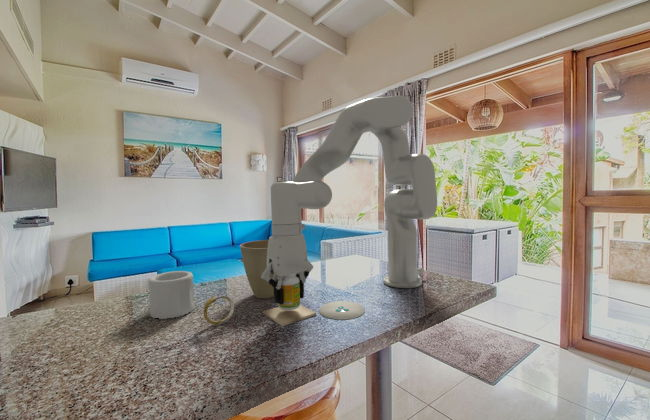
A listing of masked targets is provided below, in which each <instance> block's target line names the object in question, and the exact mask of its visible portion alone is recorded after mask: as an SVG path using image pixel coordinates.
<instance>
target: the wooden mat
mask: <svg viewBox="0 0 650 420" xmlns="http://www.w3.org/2000/svg"><path fill="white" fill-rule="evenodd" d="M262 314H263V315H264V316H266V317H267V318H269V319H271V321H274V322H275V323H276V324H278V325H280V326H281V327H285V326H287V325H290V324H294V323H296V322H299V321H302V320H305V319H308V318H311V317H314V316H317V312H316V311H314V310H313V309H310V308H308V307H306V306H304V305H302V304H300V306H299V307H298V308H297V309H293V310H283V309H281V308H280V306H277V307H273V308H270V309H266V310H264V311H262Z"/></svg>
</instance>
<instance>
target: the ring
mask: <svg viewBox="0 0 650 420" xmlns="http://www.w3.org/2000/svg"><path fill="white" fill-rule="evenodd" d="M221 299H223V300H226V301H227V302H228V303H229V305H230V310H229V312H228V314H227V315H226V316H225V317H224V318H223V319H217V320H213V319H210V317H209V316H208V309H209V307H210V306H211V305H212V304H213V303H215V302H216V301H217V300H221ZM234 310H235V305H234V302H233V299H232V298H231V297H230V296H228V295H225V291H223V292H222V293H221V292H220V291H219V290H218V291H214V293H213V294H210V295H209V297H208V298H207V299H206V301H205V303H204V305H203V310H202V311H203V317H204V319H205V321H206V322H207V323H209V324H211V325H215V326H216V325H217V326H221V325H223V324H225V323H226V322H228V321H229V320H230V319H231V317H232V316H233V314H234Z"/></svg>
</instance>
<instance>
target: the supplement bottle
mask: <svg viewBox="0 0 650 420" xmlns="http://www.w3.org/2000/svg"><path fill="white" fill-rule="evenodd" d="M281 288H282V289H283V301H284V303H283V304H281V305H280V304H279V303H278V305H279V306H278V307H280V308H281V309H283V310H293V309H297V308H298V307H299V306H300V305H301V298H300V282H299V278H298V277H296V274H291V275H288V276H285V277H283V280H282V285H281Z"/></svg>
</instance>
